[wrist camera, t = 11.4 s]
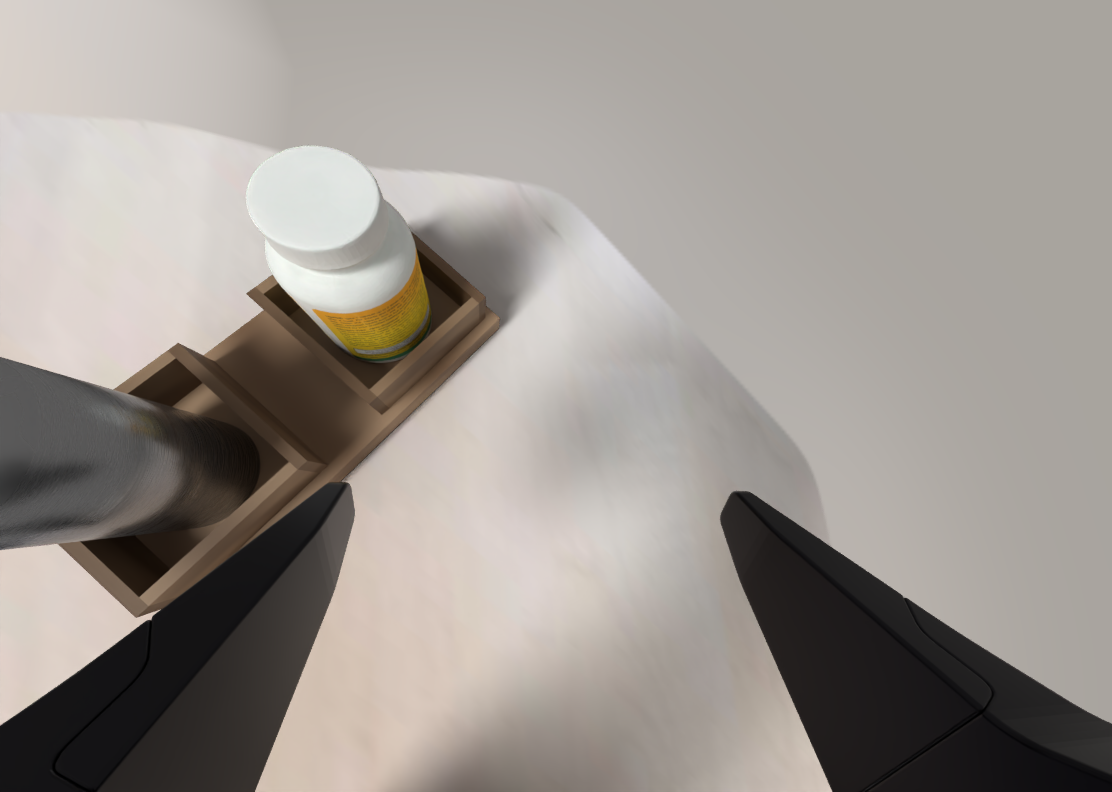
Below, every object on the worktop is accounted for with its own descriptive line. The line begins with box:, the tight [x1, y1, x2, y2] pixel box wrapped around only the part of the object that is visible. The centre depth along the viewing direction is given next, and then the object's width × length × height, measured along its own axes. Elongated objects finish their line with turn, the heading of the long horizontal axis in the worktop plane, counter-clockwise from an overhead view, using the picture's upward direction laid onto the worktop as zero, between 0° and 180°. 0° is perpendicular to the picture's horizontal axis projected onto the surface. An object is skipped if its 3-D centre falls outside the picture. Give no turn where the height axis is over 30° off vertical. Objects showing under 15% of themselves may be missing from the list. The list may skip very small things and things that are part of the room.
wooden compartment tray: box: [59, 232, 500, 618], centre depth 20 cm, size 20×9×4 cm, turn 140°
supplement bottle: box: [246, 146, 432, 363], centre depth 17 cm, size 5×5×10 cm
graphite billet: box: [0, 357, 260, 550], centre depth 14 cm, size 5×5×10 cm
